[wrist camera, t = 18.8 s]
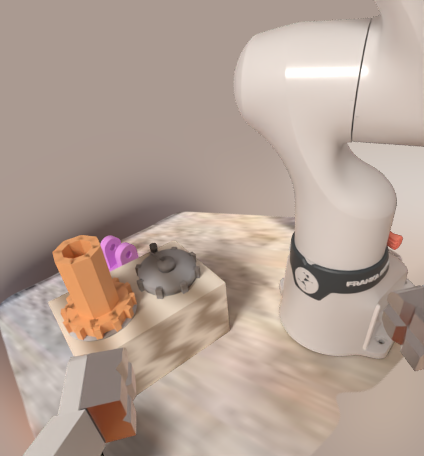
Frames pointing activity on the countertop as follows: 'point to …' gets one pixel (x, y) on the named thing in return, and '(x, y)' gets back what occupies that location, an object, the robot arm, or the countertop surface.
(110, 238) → the bracket
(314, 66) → the robot arm
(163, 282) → the gearbox
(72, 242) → the orange gear
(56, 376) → the countertop surface
